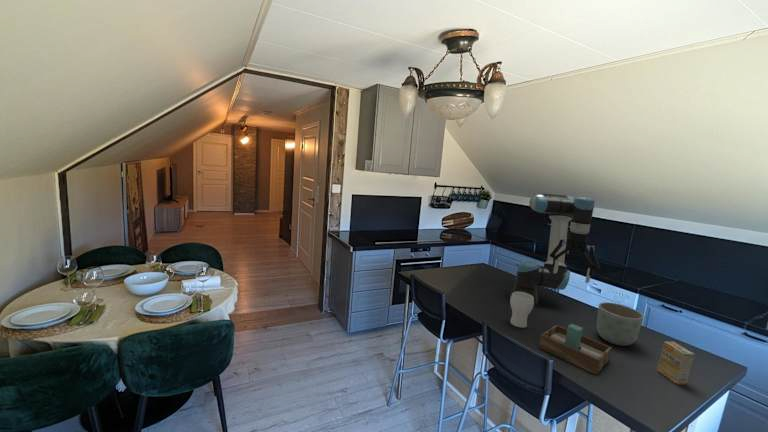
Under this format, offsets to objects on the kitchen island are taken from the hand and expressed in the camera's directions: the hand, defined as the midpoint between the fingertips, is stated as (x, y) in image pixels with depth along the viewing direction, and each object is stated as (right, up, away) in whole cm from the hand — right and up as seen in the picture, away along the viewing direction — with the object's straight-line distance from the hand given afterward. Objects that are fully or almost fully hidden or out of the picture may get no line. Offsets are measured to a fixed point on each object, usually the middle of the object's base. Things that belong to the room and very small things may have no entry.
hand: (570, 277), depth 148 cm
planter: (+23, -30, +4) cm, 38 cm away
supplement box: (+27, -35, -22) cm, 49 cm away
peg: (-6, -30, -10) cm, 32 cm away
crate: (-5, -30, -10) cm, 33 cm away
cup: (-19, -26, +13) cm, 34 cm away
